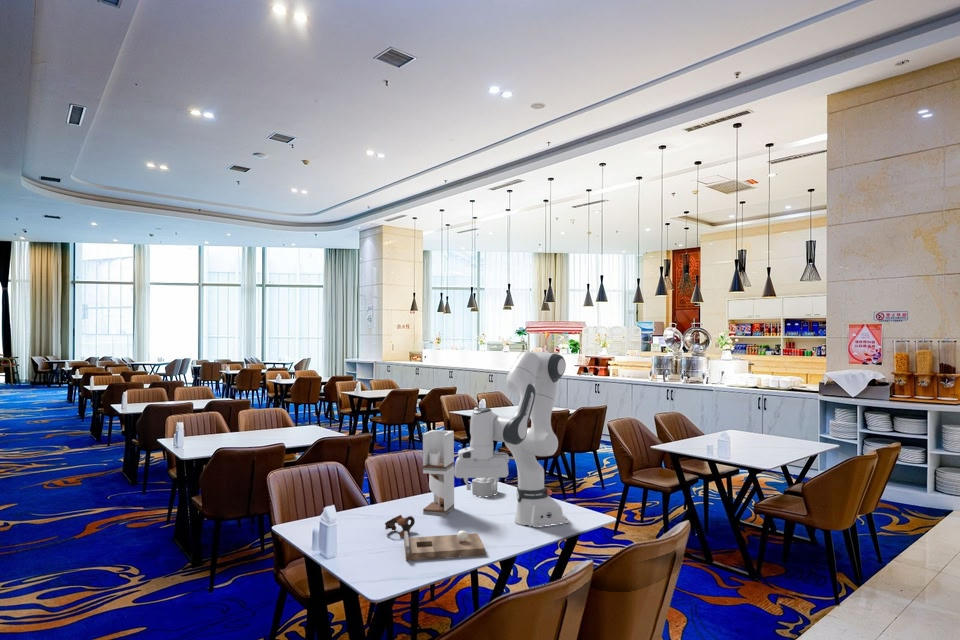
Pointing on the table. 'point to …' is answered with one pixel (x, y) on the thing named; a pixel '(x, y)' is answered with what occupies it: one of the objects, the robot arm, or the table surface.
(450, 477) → the white shelf tower
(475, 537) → the board
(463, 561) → the table surface
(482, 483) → the lumpy-topped squat cylinder
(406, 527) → the brown looped piece
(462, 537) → the ball
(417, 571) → the table surface
